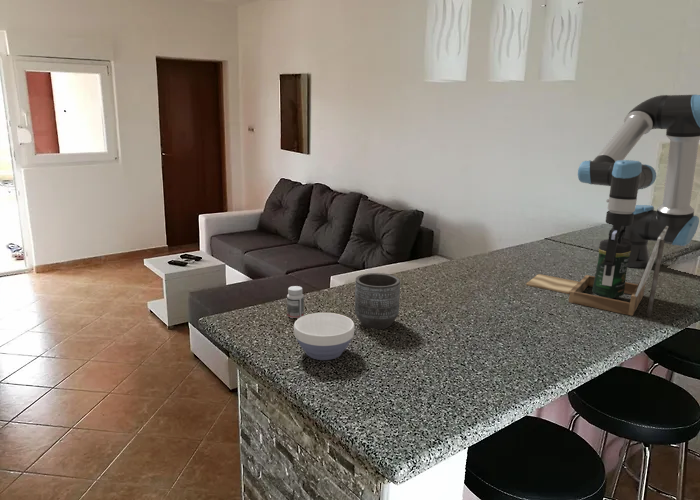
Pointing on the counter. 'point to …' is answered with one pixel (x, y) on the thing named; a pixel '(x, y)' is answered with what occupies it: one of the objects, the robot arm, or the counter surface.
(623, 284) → the coffee jar
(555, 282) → the mat
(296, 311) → the pill bottle
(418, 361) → the counter surface
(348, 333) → the bowl
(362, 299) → the planter
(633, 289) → the cold frame
